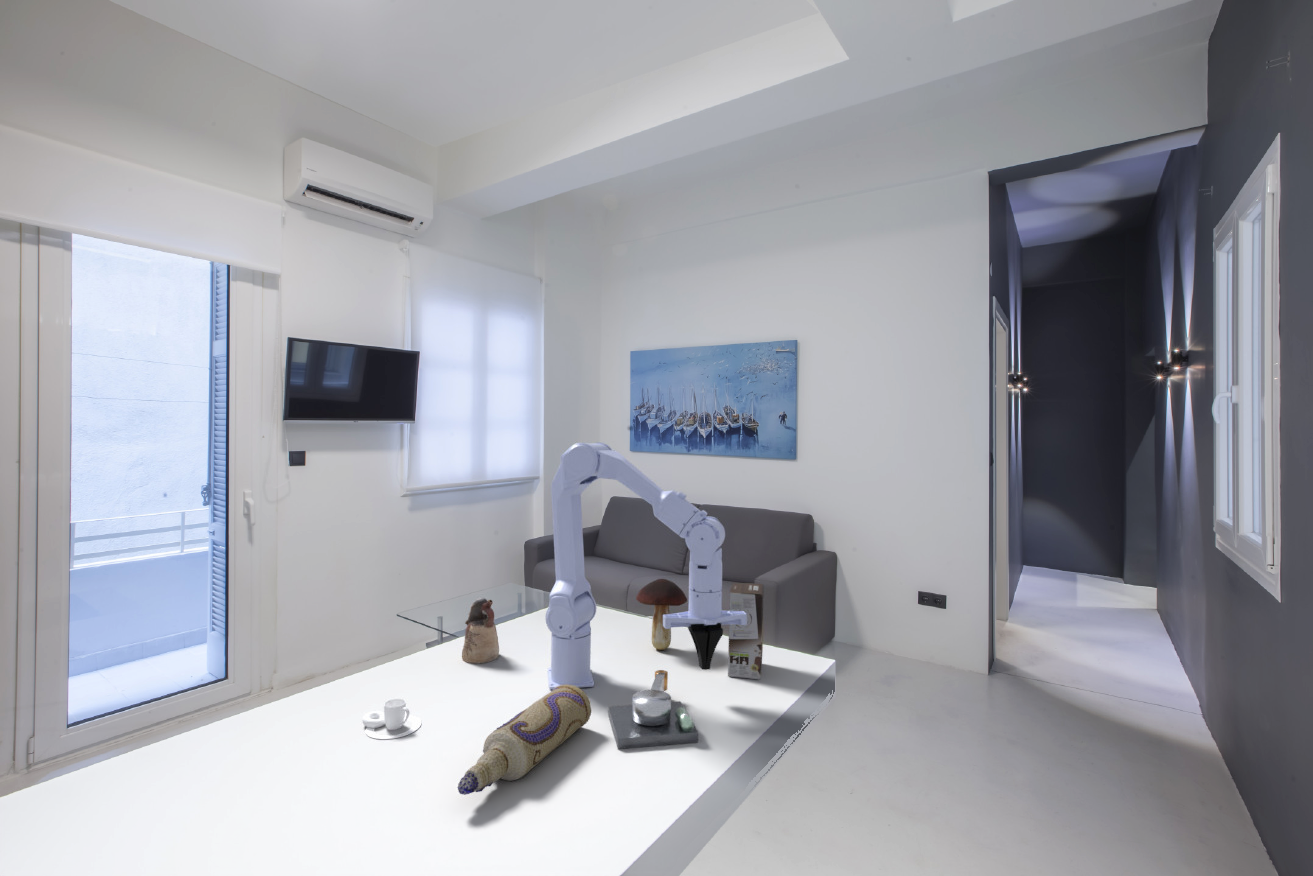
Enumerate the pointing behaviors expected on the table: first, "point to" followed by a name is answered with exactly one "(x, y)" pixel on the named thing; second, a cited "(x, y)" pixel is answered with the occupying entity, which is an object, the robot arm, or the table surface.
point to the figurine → (480, 634)
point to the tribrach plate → (651, 728)
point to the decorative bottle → (528, 738)
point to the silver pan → (653, 702)
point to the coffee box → (746, 631)
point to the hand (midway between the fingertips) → (704, 667)
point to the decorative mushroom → (661, 607)
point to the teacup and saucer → (390, 719)
